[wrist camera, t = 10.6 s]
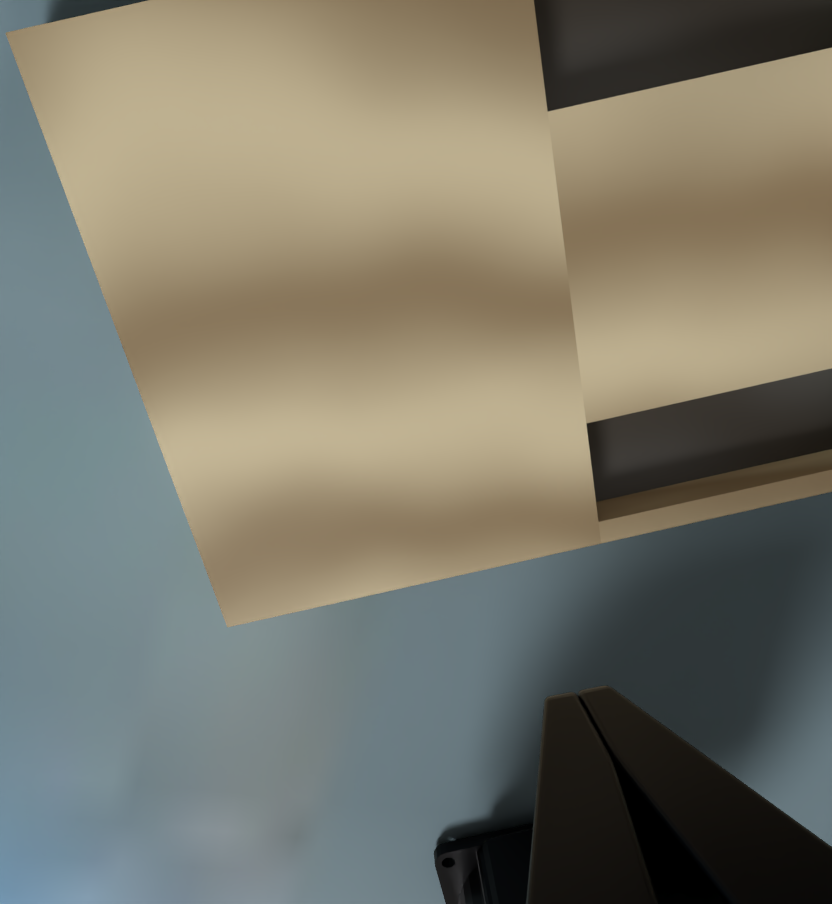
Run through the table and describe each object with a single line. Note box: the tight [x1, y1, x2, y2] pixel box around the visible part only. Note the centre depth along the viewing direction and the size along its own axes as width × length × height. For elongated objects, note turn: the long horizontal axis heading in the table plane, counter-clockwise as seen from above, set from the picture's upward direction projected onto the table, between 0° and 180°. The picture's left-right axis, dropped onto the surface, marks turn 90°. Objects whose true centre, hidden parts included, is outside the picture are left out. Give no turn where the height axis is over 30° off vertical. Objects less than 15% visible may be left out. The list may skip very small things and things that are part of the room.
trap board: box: [6, 0, 832, 627], centre depth 15 cm, size 15×28×5 cm, turn 102°
